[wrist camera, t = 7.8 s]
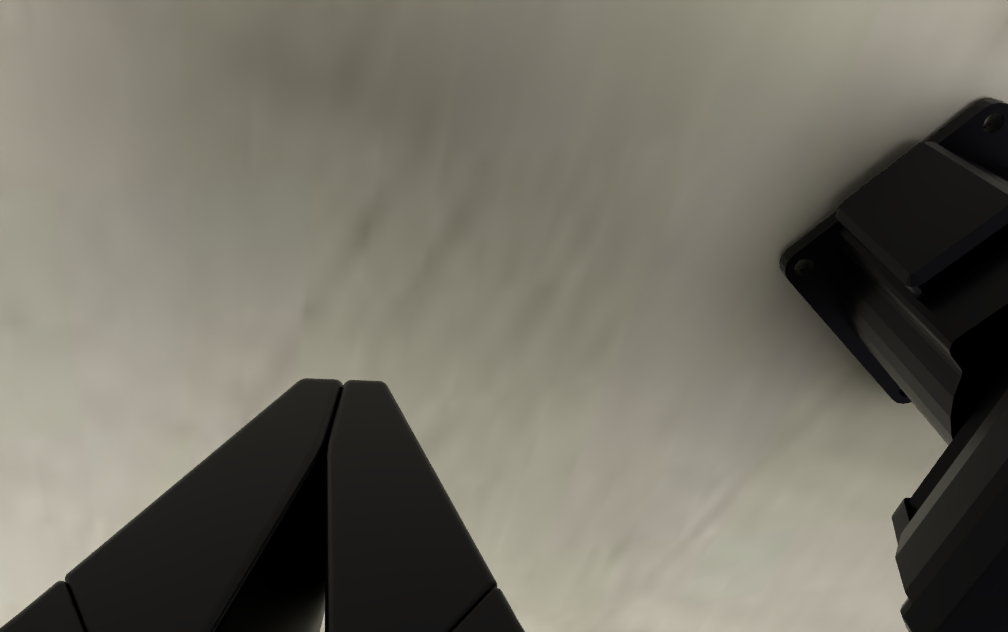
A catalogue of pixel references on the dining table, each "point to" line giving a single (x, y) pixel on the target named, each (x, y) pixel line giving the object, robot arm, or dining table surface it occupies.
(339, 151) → the dining table surface
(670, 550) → the dining table surface
